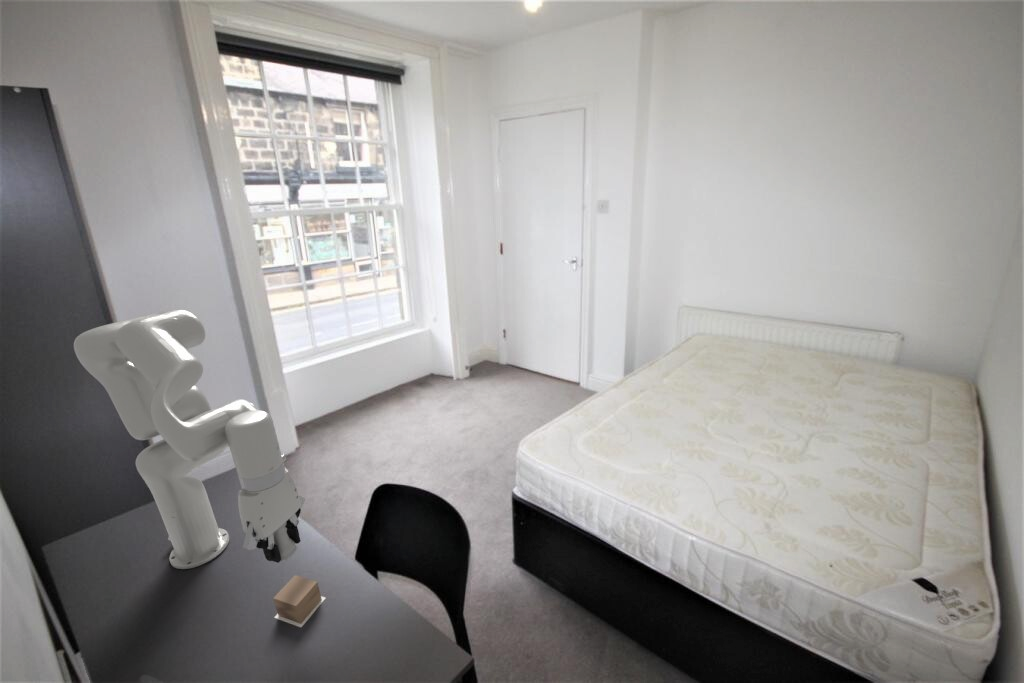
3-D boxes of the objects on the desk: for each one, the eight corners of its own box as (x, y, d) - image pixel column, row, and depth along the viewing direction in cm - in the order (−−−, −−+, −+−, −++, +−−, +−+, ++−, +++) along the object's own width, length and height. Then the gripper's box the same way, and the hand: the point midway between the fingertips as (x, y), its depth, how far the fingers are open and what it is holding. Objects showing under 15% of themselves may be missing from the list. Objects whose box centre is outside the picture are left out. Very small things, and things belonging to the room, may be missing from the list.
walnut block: (278, 615, 94) (273, 598, 93) (299, 592, 100) (295, 574, 98) (301, 623, 92) (296, 606, 91) (321, 599, 98) (317, 581, 96)
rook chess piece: (287, 563, 88) (278, 531, 86) (267, 560, 89) (258, 528, 87) (301, 546, 93) (293, 515, 90) (282, 543, 93) (274, 512, 91)
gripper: (282, 447, 93) (300, 518, 99) (206, 500, 78) (233, 579, 85) (311, 452, 91) (328, 525, 97) (238, 508, 76) (264, 589, 82)
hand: (284, 549), depth 91 cm, fingers closed on rook chess piece, 4 cm apart
